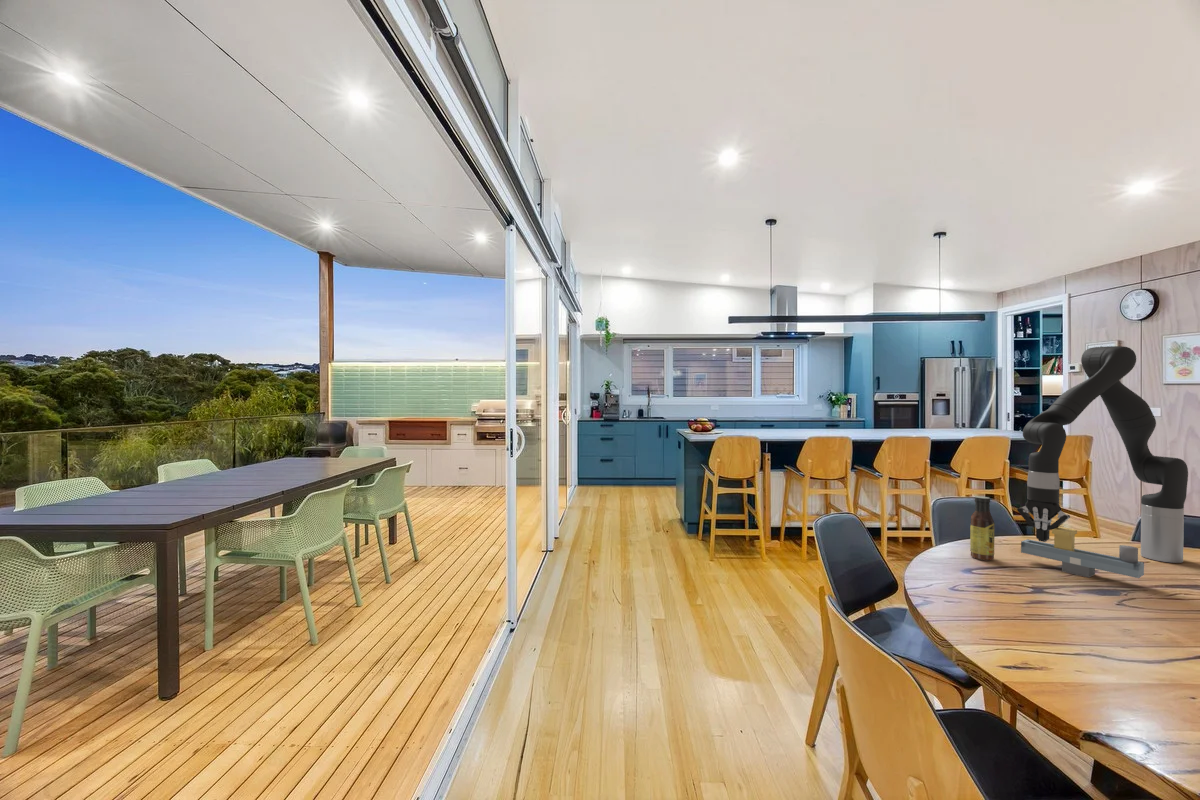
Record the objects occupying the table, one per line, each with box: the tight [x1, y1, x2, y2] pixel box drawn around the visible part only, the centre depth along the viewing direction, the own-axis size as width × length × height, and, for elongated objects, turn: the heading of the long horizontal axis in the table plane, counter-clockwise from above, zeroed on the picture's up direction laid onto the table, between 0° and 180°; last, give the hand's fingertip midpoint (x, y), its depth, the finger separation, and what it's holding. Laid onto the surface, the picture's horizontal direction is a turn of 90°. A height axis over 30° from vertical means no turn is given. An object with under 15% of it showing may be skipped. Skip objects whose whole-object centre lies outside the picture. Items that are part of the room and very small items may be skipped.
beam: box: [1020, 538, 1145, 579], centre depth 149 cm, size 26×5×10 cm, turn 31°
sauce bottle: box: [969, 495, 995, 561], centre depth 162 cm, size 6×6×20 cm
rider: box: [1051, 526, 1078, 551], centre depth 152 cm, size 4×6×7 cm, turn 121°
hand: (1042, 540), depth 156 cm, fingers closed
